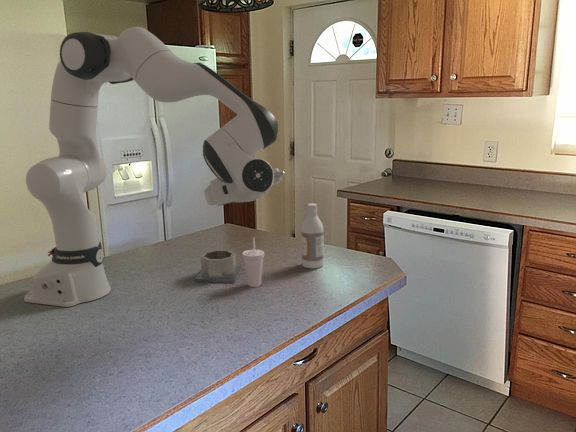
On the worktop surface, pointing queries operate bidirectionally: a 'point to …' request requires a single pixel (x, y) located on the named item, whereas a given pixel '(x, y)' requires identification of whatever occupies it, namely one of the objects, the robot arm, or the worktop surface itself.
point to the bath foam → (312, 239)
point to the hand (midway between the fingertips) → (240, 188)
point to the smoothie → (253, 265)
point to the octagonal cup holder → (219, 267)
